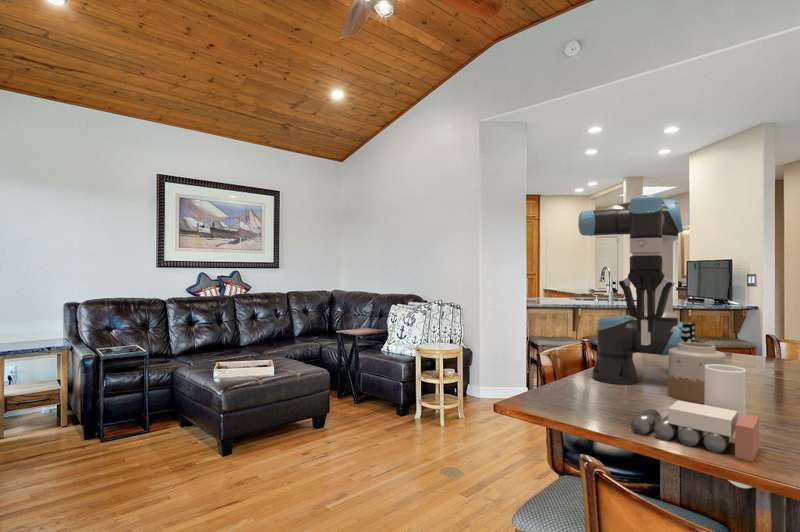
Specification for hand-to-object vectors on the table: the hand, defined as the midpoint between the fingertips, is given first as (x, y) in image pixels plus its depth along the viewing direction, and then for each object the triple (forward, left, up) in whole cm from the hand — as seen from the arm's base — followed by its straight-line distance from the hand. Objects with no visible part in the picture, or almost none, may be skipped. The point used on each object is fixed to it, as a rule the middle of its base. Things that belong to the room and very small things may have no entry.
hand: (645, 344), depth 118 cm
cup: (+16, +6, -21) cm, 27 cm away
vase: (+4, +37, -21) cm, 42 cm away
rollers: (+9, -6, -21) cm, 23 cm away
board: (+14, -6, -16) cm, 22 cm away
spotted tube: (-6, +66, -21) cm, 70 cm away
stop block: (+22, -6, -21) cm, 31 cm away
